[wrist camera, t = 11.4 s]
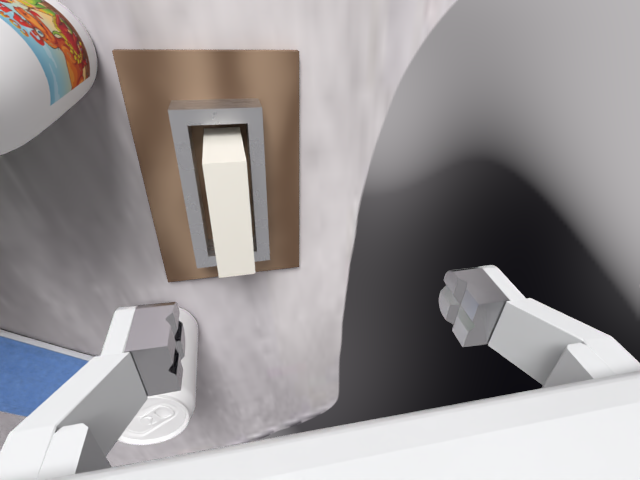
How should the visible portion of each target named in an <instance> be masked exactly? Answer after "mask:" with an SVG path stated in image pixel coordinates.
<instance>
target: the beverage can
mask: <svg viewBox="0 0 640 480" xmlns="http://www.w3.org/2000/svg"><path fill="white" fill-rule="evenodd" d="M179 311H180V314H179V321H180V322H182V323H183V327H184V332H185V356H184V357H183V359H182V360H181V363H182V367H183V377H182V385H181V391H176V392H170V393H165V394H159V395H154V396H148V399H147V400H146V402H145V403H144V405H143V406H142V407H141V409H140V410H139V411H138V413H137V414H136V416H135V417H134V418H133V420H132V421H131V422H130V424H129V425H128V427H127V428H126V429H125V431H124V432H123V433H122V435H121V436H120V438H119V439H118V440H117V441H120V442H123V443H126V444H132V445H150V444H156V443H161V442H164V441H167V440H169V439H172V438H174V437H175V436H177V435H179V434H180V433H181V432H182V431H183V430H184V429H185V428H186V427H187V425H188V423H189V419H190V418H191V416H192V414H193V412H194V409H195V405H196V381H197V354H198V324H197V322H196V320H195V318H194V317H193V316H192V315H191V314H190V313H189V312H187V311H186V310H184V309H182V308H180V307H179Z"/></svg>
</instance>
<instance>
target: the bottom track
mask: <svg viewBox="0 0 640 480" xmlns="http://www.w3.org/2000/svg"><path fill="white" fill-rule="evenodd" d="M168 114H169V120H170V125H171V130H172V136H173V141H174V147H175V152H176V158H177V163H178V168H179V174H180V179H181V185H182V190H183V196H184V201H185V206H186V212H187V217H188V223H189V228H190V234H191V239H192V244H193V250H194V255H195V261H196V266H197V268H204V267H213V266H217V262H216V255H215V248H214V241H213V239H210V240H208V234H207V227H206V221H205V215H204V208H203V202H202V195H201V189H200V182H199V176H198V169H197V163H196V157H195V150H194V144H193V137H192V131H191V126H192V125H219V124H245V123H246V132H247V145H248V158H249V171H250V185H251V198H252V211H253V224H254V235H252V237H253V249H254V262H257V261H266V260H270V250H269V230H268V211H267V191H266V172H265V152H264V133H263V113H262V106H261V103H260V101H259V99H258V98H250V99H208V100H171V102H170V105H169V108H168Z"/></svg>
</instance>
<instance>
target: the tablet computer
mask: <svg viewBox="0 0 640 480" xmlns="http://www.w3.org/2000/svg"><path fill="white" fill-rule="evenodd" d="M93 357H94V356H91V355H87V354H83V353H80V352H76V351H73V350H69V349H66V348H62V347H59V346H55V345H52V344H48V343H45V342H42V341H38V340H35V339H31V338H28V337H24V336H21V335H18V334H14V333H11V332H7V331H4V330H1V329H0V412H4V413H9V414H14V415H19V416H24V417H28V416H29V415H30V414H31V413H32V412H33V411H34V410H36V409H37V408H38V407H39V406H40V405H41V404H42V403H43V402H44V401H46V400H47V399H48V398H49V397H50V396H51V395H52V394H53V393H54V392H55V391H57V390H58V389H59V388H60V387H61V386H62V385H63V384H64V383H65V382H67V381H68V380H69V379H70V378H71V377H72V376H73V375H74V374H75V373H77V372H78V371H79V370H80V369H81V368H82V367H83V366H84V365H85V364H87V363H88V362H89V361H90V360H91V359H92V358H93Z"/></svg>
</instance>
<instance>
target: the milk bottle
mask: <svg viewBox="0 0 640 480" xmlns="http://www.w3.org/2000/svg"><path fill="white" fill-rule="evenodd" d="M96 74H97V56H96V51H95V47H94V45H93V42H92V40H91V38H90V35H89V34H88V32H87V30H86V29H85V27H84V26H83V24H82V23H81V22H80V20H79V19H78V18H77V17H76V16H75V15H74V14H73V13H72V12H71V11H70V10H69V9H68V8H67V7H65V6H64V5H63V4H62V3H60V2H59V1H57V0H0V155H3V154H5V153H8V152H10V151H12V150H15V149H17V148H19V147H21V146H23V145H24V144H26V143H27V142H29V141H30V140H31V139H33V138H34V137H36V136H37V135H39V134H40V133H41V132H42V131H44V130H45V129H46V128H47V127H48V126H50V125H51V124H52V123H53V122H55V121H56V120H57V119H58V118H59V117H61V116H62V115H63V114H64V113H65V112H66V111H68V110H69V109H70V108H71V107H72V106H73V105H75V104H76V103H77V102H78V101H79V100H80V99H81V98H82V97H83V96H84V95H85V94H86V93H87V92H88V91H89V90H90V88H91V87H92V85H93V83H94V81H95V78H96Z"/></svg>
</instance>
